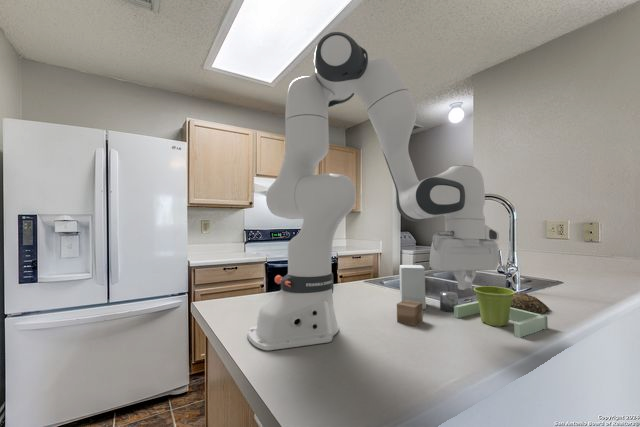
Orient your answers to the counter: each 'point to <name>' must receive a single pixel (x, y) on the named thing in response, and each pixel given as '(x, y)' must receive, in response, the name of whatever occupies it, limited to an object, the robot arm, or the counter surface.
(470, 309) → the corral
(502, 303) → the plant pot
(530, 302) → the bread roll
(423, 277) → the supplement box
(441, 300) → the metal tin
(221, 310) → the counter surface
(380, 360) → the counter surface
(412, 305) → the walnut block
